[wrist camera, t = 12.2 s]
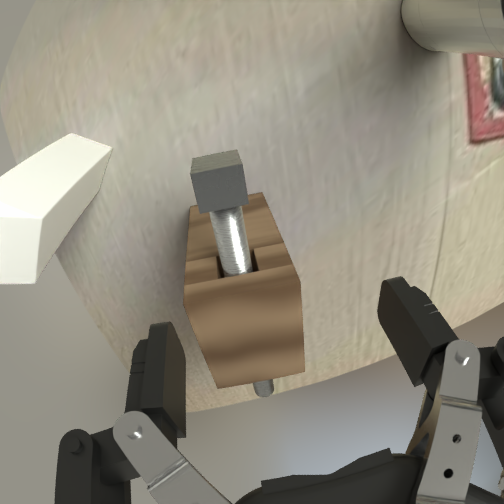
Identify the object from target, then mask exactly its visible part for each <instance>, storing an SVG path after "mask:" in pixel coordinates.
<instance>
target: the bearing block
mask: <svg viewBox="0 0 504 504" xmlns="http://www.w3.org/2000/svg"><path fill="white" fill-rule="evenodd" d="M248 201H249V204H247V205H242V206H241V207H242V213H243V219H244V224H245V230H246V235H247V241H248V246H249V252H250V257H251V263H252V269H253V272H252V273H247V274H242V275H237V276H232V277H226V278H225V276H224V272H223V268H222V264H221V260H220V256H219V252H218V248H217V244H216V239H215V235H214V231H213V227H212V222H211V218H210V214H209V212H207V213H202V214H200V213H199V209H198V205H195V206H191V207H190V217H189V228H188V240H187V252H186V266H185V281H184V298H183V305H184V308H185V310H186V313H187V316H188V318H189V321H190V323H191V326H192V328H193V331H194V333H195V336H196V338H197V341H198V343H199V346H200V348H201V351H202V353H203V355H204V358H205V360H206V363H207V365H208V367H209V370H210V372H211V374H212V377H213V379H214V381H215V383H216V386H217V388H218V389H219V388H226V387H232V386H238V385H244V384H249V383H255V382H260V381H265V380H270V379H275V378H280V377H284V376H289V375H293V374H298V373H302V372H305V358H304V336H303V317H302V300H301V284H300V279H299V277H298V275H297V272H296V270H295V267H294V265H293V263H292V260H291V258H290V255H289V253H288V251H287V248H286V246H285V244H284V241H283V239H282V237H281V234H280V232H279V230H278V227H277V225H276V223H275V220H274V218H273V216H272V213H271V211H270V209H269V207H268V204H267V202H266V200H265V197H264V195H263V193H262V192H261V193H256V194H251V195H248Z"/></svg>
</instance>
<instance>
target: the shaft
mask: <svg viewBox="0 0 504 504" xmlns="http://www.w3.org/2000/svg"><path fill="white" fill-rule="evenodd" d="M190 175H191V179H192V184H193V188H194V192H195V196H196V200H197V204H198V209H199V213H200V214H202V213H207V212H209V214H210V218H211V222H212V227H213V231H214V235H215V239H216V244H217V248H218V252H219V256H220V260H221V264H222V268H223V272H224V276H225V278H226V277H232V276H237V275H242V274H247V273H252V272H253V269H252V263H251V257H250V252H249V246H248V241H247V235H246V230H245V224H244V219H243V213H242V207H241V206H242V205H247V204H249V201H248V195H247V189H246V183H245V177H244V171H243V165H242V162H241V159H240V156H239V154H238V151H237V150H232V151H227V152H222V153H216V154H211V155H207V156H202V157H197V158H193V160H192V166H191V173H190ZM253 387H254V390H255V393H256V394H257V395H258V396H260V397H267V396H270V395H271V394H272V393H273V391H274V384H273V379H270V380H265V381H260V382H255V383H253Z"/></svg>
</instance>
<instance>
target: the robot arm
mask: <svg viewBox="0 0 504 504" xmlns="http://www.w3.org/2000/svg"><path fill="white" fill-rule="evenodd" d="M401 13H402V19H403V22H404V25H405V27H406V29H407V31H408V33H409V34H410V36H411V37H412V38H413V40H414V41H415V42H416V43H418V44H419V45H420V46H421V47H423V48H425V49H427V50H431V51H439V52H454V53H464V54H473V55H481V56H488V57H495V58H501V59H504V0H403V3H402V9H401ZM377 312H378V319H379V322H380V324H381V326H382V328H383V329H384V331H385V333H386V335H387V337H388V338H389V340H390V342H391V344H392V346H393V348H394V349H395V351H396V353H397V355H398V356H399V359H400V361H401V362H402V364H403V366H404V368H405V370H406V372H407V374H408V376H409V378H410V380H411V382H412V384H413V385H414V387H416V386H418V385H421V384H423V383H424V385H425V386H426V390H425V393H424V397H423V401H422V405H421V410H420V413H419V417H418V421H417V425H416V429H415V432H414V434H413V437H412V439H411V441H410V443H409V445H408V448H407V450H406V453H405V454H402V453H401V454H400V453H398V454H391V451H390V448H387V449H384V450H381V451H379V452H376V453H373V454H370V455H367V456H364V457H361V458H359V459H357V460H355V461H353V462H352V463H350V464H348V465H347V466H345V467H343V468H341V469H339V470H337V471H336V472H334V473H332V474H328V475H291V476H286V477H281V478H276V479H270V480H263V481H261V485H262V487H260V488H257V489H255V490H253V491H251V492H249V493H248V494H246V495H245V496H243V497H242V498H241V499H239V500H238V501H237V502H236V503H235V504H504V337H502V338H500V339H499V341H498V343H497V344H496V346H495V347H484V348H477V347H476V346H475V345H474V344H473V343H471V342H469V341H467V340H462V339H461V340H459V339H458V337H457V336H456V335H455V333H454V332H453V330H452V329H451V327H450V326H449V324H448V323H447V322H446V320H445V319H444V317H443V316H442V315H441V313H440V312H438V309H437V308H436V307H435V305H434V304H432V301H431V300H430V299H429V297H428V296H427V295H426V293H424V292H423V291H421V290H420V289H418V288H417V287H415V286H413V287H410V286H409V284H408V283H407V282H406V280H405V279H404V278H403V277H401V276H400V277H396V278H391V279H387V280H384V281H383V282H382V285H381V291H380V297H379V303H378V310H377ZM130 374H131V375H130V377H129V385H128V392H127V400H126V408H125V412H124V414H123V415H121V416H120V417H119V418H118V419H117V421H116V422H115V424H114V426H113V427H112V428H109V429H107V430H104V431H101V432H98V433H95V434H91V435H89V434H88V433H87V432H86V431H84V430H81V429H74V430H71V431H69V432H67V433H66V434H65V435H64V436H63V438H62V439H61V441H60V445H59V453H58V463H57V474H56V487H55V504H131V486H130V480H131V479H135V478H138V477H142V478H143V480H144V481H145V482H146V484H147V485H148V491H149V492H150V494H151V495H152V497H153V498H154V499H155V500H156V502H157V503H158V504H232V503H231V502H230V501H229V500H228V499H227V498H226V497H224V496H223V495H222V494H221V493H220V492H219V491H218V490H217V489H216V488H215V487H214V486H213V485H212V484H211V483H209V482H208V481H207V480H206V479H205V478H204V477H203V476H202V475H201V474H200V473H199V472H198V471H197V470H196V469H195V468H194V466H193V465H192V464H190V462H189V461H188V460H187V459H186V458H185V457H184V456H183V455H182V454H181V453H180V452H179V450H178V449H177V438H186V360H185V354H184V350H183V347H182V345H181V343H180V340H179V338H178V336H177V334H176V331H175V329H174V327H173V324H172V323H171V322H164V323H158V324H151V326H150V329H149V336H148V339H144V340H140V341H139V343H138V345H137V346H136V348H135V349H134V351H133V357H132V365H131V370H130ZM481 418H482V419H483V422H484V424H485V426H486V428H487V430H488V433H489V435H490V437H491V440H492V442H493V444H494V447H495V449H496V452H497V454H498V457H499V459H500V462H501V464H502V467H503V471H502V473H501V478H500V481H499V483H498V487H499V489H500V490H501V496H498V495H495V494H493V493H491V492H488V491H486V490H484V489H482V488H480V487H478V486H476V485H473V484H471V483H469V482H470V478H471V474H472V469H473V465H474V460H475V455H476V450H477V444H478V438H479V432H480V425H481Z"/></svg>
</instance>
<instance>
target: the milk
mask: <svg viewBox="0 0 504 504" xmlns="http://www.w3.org/2000/svg"><path fill="white" fill-rule="evenodd" d="M112 149H113V148H112V147H109V146H106V145H104V144H101V143H98V142H95V141H93V140H90V139H87V138H84V137H81V136H78V135H76V134H73V133H70V134H68V135H66V136H65V137H63V138H61V139H59V140H57V141H56V142H54V143H52V144H51V145H49V146H47V147H45V148H44V149H42V150H41V151H39V152H37V153H36V154H34V155H32V156H31V157H29V158H28V159H26V160H25V161H23V162H22V163H20V164H18V165H17V166H16V167H14V168H12V169H11V170H10V171H8V172H7V173H5V174H4V175H2V176H1V177H0V284H34V283H36V282H37V280H38V278H39V277H40V275H41V273H42V272H43V270H44V269H45V267H46V266H47V264H48V262H49V261H50V259H51V257H52V256H53V254H54V253H55V251H56V250H57V248H58V247H59V245H60V244H61V242H62V241H63V239H64V238H65V237H66V235H67V234H68V232H69V231H70V229H71V228H72V227H73V225H74V224H75V222H76V221H77V219H78V218H79V217H80V215H81V214H82V213H83V211H84V210H85V209H86V207H87V206H88V205H89V203H90V202H91V201H92V199H93V198H94V197H95V195H96V194H97V193H98V192H99V189H100V186H101V182H102V179H103V176H104V173H105V170H106V167H107V163H108V160H109V157H110V155H111V152H112Z"/></svg>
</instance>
